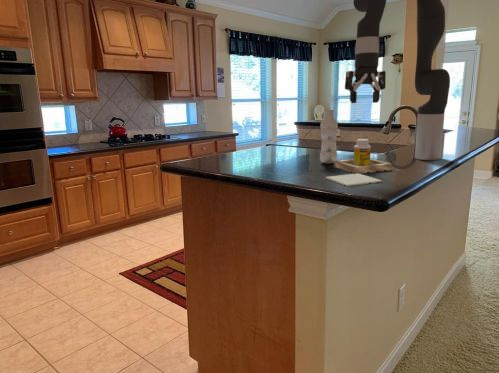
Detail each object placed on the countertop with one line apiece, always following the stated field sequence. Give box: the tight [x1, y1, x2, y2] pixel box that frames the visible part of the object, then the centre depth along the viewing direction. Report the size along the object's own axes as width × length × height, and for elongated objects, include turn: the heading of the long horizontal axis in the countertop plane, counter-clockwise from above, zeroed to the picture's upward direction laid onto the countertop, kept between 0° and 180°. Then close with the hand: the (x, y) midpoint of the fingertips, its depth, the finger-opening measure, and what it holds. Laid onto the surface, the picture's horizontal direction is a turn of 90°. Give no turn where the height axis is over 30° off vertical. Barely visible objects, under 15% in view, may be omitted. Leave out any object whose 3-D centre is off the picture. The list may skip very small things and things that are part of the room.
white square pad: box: [325, 173, 383, 187], centre depth 119 cm, size 12×12×1 cm
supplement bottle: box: [353, 138, 372, 166], centre depth 135 cm, size 6×6×10 cm
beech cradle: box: [333, 158, 392, 175], centre depth 136 cm, size 14×14×2 cm
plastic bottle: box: [319, 109, 339, 165], centre depth 145 cm, size 6×7×20 cm
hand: (364, 102), depth 131 cm, fingers open, 8 cm apart
